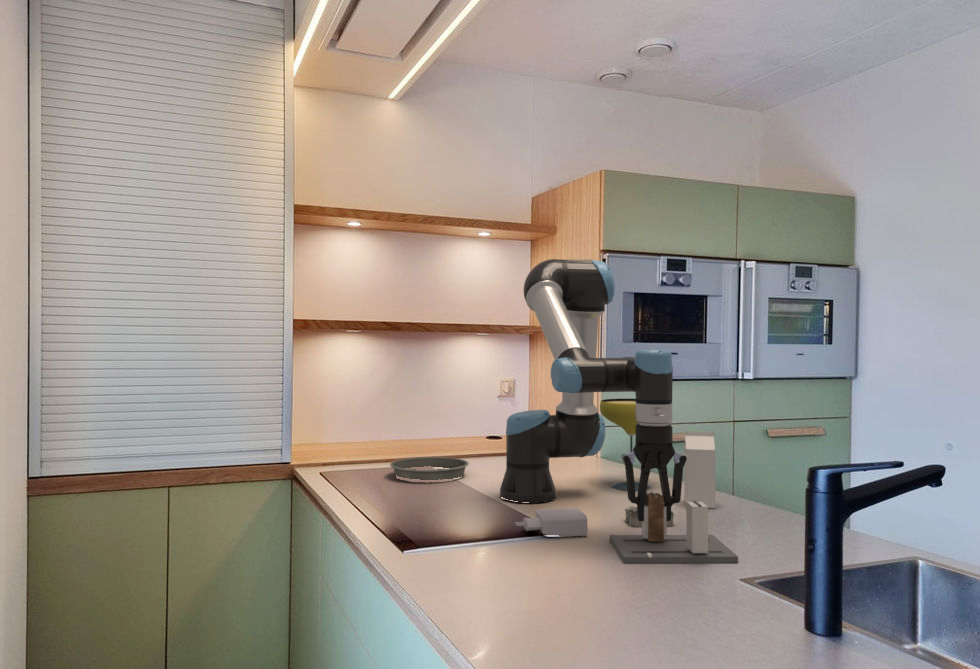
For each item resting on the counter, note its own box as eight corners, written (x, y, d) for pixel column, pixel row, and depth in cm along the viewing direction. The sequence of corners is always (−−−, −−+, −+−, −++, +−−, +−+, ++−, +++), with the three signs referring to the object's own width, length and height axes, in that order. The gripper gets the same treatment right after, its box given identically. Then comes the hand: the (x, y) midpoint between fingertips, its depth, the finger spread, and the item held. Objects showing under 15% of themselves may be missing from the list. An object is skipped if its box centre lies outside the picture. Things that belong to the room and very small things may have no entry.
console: (624, 563, 133) (624, 555, 133) (609, 540, 149) (609, 533, 149) (738, 563, 133) (738, 555, 133) (712, 540, 149) (712, 532, 149)
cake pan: (483, 479, 215) (483, 464, 215) (413, 488, 202) (413, 473, 202) (443, 467, 236) (443, 453, 236) (377, 475, 222) (377, 460, 222)
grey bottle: (512, 529, 158) (575, 526, 161) (520, 541, 149) (587, 538, 151) (512, 508, 158) (575, 506, 161) (520, 519, 149) (587, 516, 151)
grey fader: (692, 553, 135) (692, 505, 135) (686, 546, 139) (686, 500, 139) (708, 553, 135) (707, 505, 135) (701, 546, 139) (701, 500, 139)
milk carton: (715, 509, 176) (715, 434, 176) (686, 507, 178) (686, 433, 178) (712, 502, 183) (712, 430, 183) (684, 501, 184) (684, 429, 185)
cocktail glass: (631, 478, 215) (631, 397, 215) (676, 488, 200) (676, 401, 200) (587, 485, 205) (587, 400, 205) (631, 496, 190) (631, 405, 190)
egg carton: (629, 528, 159) (629, 510, 159) (623, 520, 167) (623, 502, 167) (676, 528, 159) (676, 510, 159) (667, 519, 167) (667, 502, 167)
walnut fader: (649, 541, 143) (649, 496, 143) (644, 535, 147) (644, 491, 147) (663, 541, 143) (663, 496, 143) (658, 535, 147) (658, 491, 147)
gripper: (618, 425, 141) (618, 541, 141) (697, 425, 141) (698, 541, 141) (612, 421, 148) (612, 531, 148) (687, 421, 149) (687, 531, 148)
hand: (654, 536), depth 145 cm, fingers closed on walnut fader, 3 cm apart
